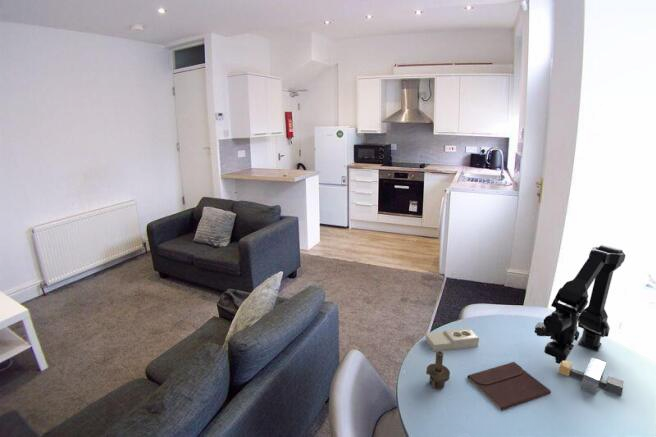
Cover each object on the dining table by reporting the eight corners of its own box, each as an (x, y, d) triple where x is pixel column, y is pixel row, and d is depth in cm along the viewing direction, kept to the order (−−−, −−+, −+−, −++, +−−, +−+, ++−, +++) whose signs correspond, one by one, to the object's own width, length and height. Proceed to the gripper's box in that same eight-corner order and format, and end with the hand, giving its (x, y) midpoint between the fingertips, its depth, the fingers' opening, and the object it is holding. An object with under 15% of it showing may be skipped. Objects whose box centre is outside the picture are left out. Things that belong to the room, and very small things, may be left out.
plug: (560, 366, 130) (561, 359, 129) (621, 388, 119) (623, 380, 119) (558, 372, 127) (560, 365, 126) (620, 395, 116) (623, 387, 116)
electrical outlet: (426, 331, 143) (469, 327, 146) (425, 340, 144) (468, 336, 147) (434, 342, 137) (479, 337, 140) (433, 352, 138) (478, 347, 141)
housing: (588, 370, 128) (591, 357, 126) (602, 376, 125) (606, 362, 123) (580, 388, 119) (583, 374, 118) (595, 395, 117) (599, 380, 115)
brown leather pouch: (550, 395, 117) (551, 389, 117) (501, 412, 111) (502, 406, 110) (512, 365, 131) (513, 360, 130) (467, 379, 124) (467, 374, 124)
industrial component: (440, 374, 125) (443, 343, 122) (453, 389, 119) (457, 357, 116) (416, 381, 123) (418, 349, 119) (428, 396, 116) (431, 363, 113)
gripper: (547, 304, 136) (540, 341, 140) (531, 324, 123) (523, 364, 127) (583, 316, 128) (574, 355, 133) (570, 338, 115) (560, 380, 120)
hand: (557, 362), depth 128 cm, fingers closed
